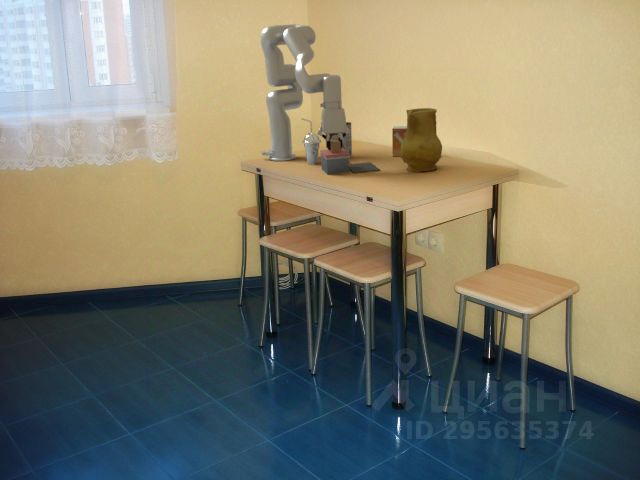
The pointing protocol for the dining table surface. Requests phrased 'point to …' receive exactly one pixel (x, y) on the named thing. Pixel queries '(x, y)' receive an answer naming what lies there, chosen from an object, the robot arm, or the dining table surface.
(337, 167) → the tin
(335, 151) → the lid
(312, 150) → the cup with straw
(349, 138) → the coffee box
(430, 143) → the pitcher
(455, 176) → the dining table surface
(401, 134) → the small box
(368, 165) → the mat
